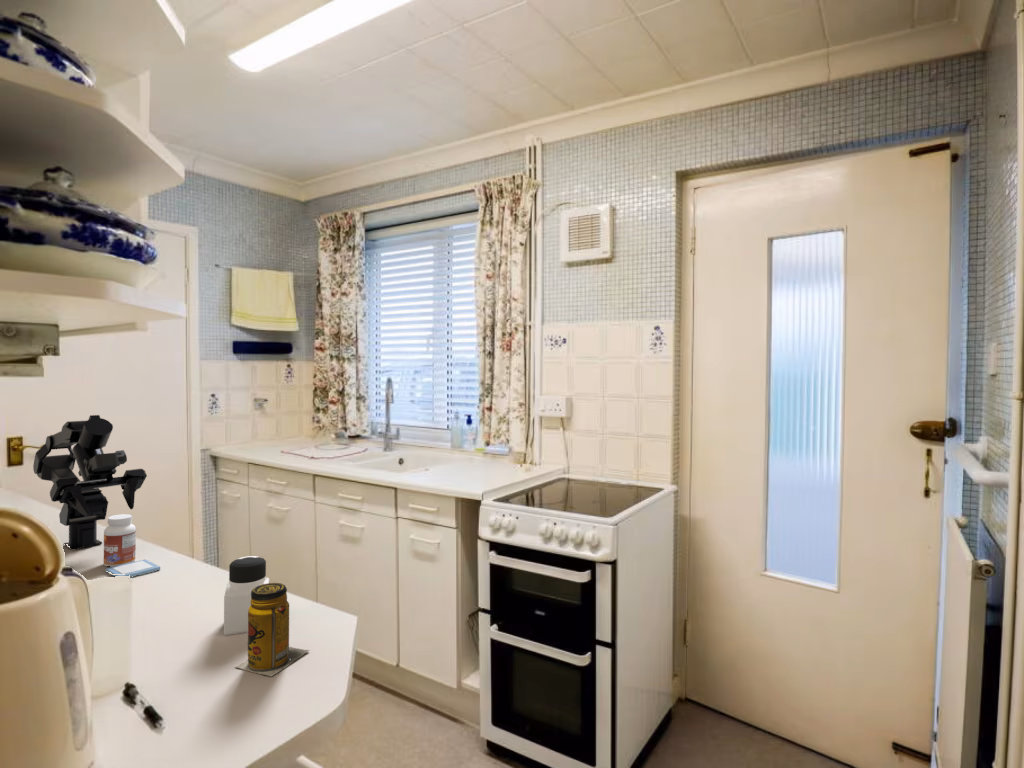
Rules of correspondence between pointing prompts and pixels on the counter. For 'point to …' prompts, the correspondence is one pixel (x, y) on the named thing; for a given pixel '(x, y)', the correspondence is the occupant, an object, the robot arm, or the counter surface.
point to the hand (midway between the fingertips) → (110, 512)
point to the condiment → (269, 631)
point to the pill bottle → (119, 540)
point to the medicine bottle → (242, 592)
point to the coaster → (134, 568)
